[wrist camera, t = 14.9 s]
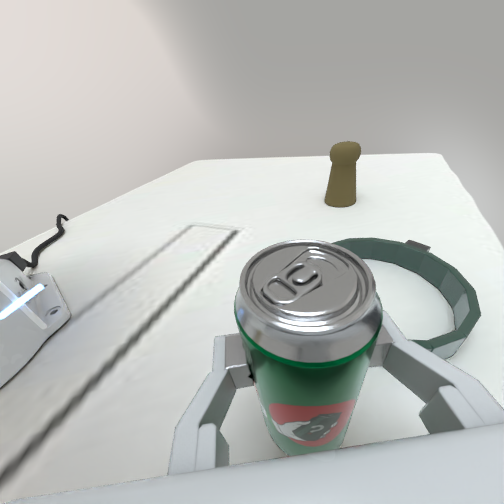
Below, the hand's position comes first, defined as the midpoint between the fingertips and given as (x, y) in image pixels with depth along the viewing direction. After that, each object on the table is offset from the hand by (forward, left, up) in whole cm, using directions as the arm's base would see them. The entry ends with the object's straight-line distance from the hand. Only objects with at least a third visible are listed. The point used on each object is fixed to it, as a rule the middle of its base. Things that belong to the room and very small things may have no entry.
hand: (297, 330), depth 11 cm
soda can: (+1, 0, -8) cm, 8 cm away
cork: (-20, +34, -11) cm, 41 cm away
